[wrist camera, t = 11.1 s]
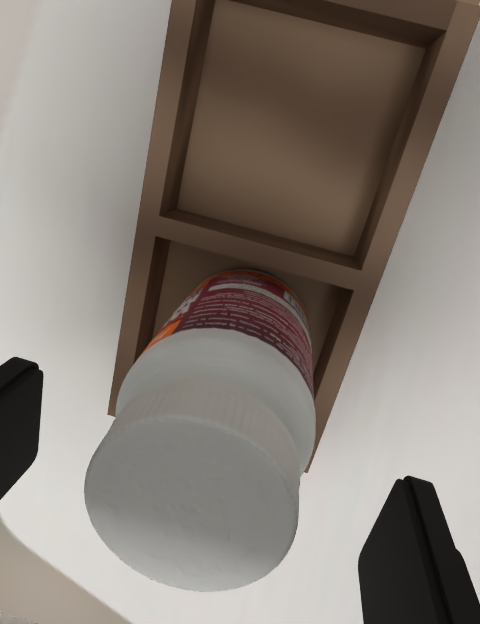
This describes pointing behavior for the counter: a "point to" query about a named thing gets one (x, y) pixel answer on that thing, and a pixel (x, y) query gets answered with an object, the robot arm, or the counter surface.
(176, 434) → the pill bottle
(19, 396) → the robot arm
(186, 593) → the counter surface
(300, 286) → the caddy
